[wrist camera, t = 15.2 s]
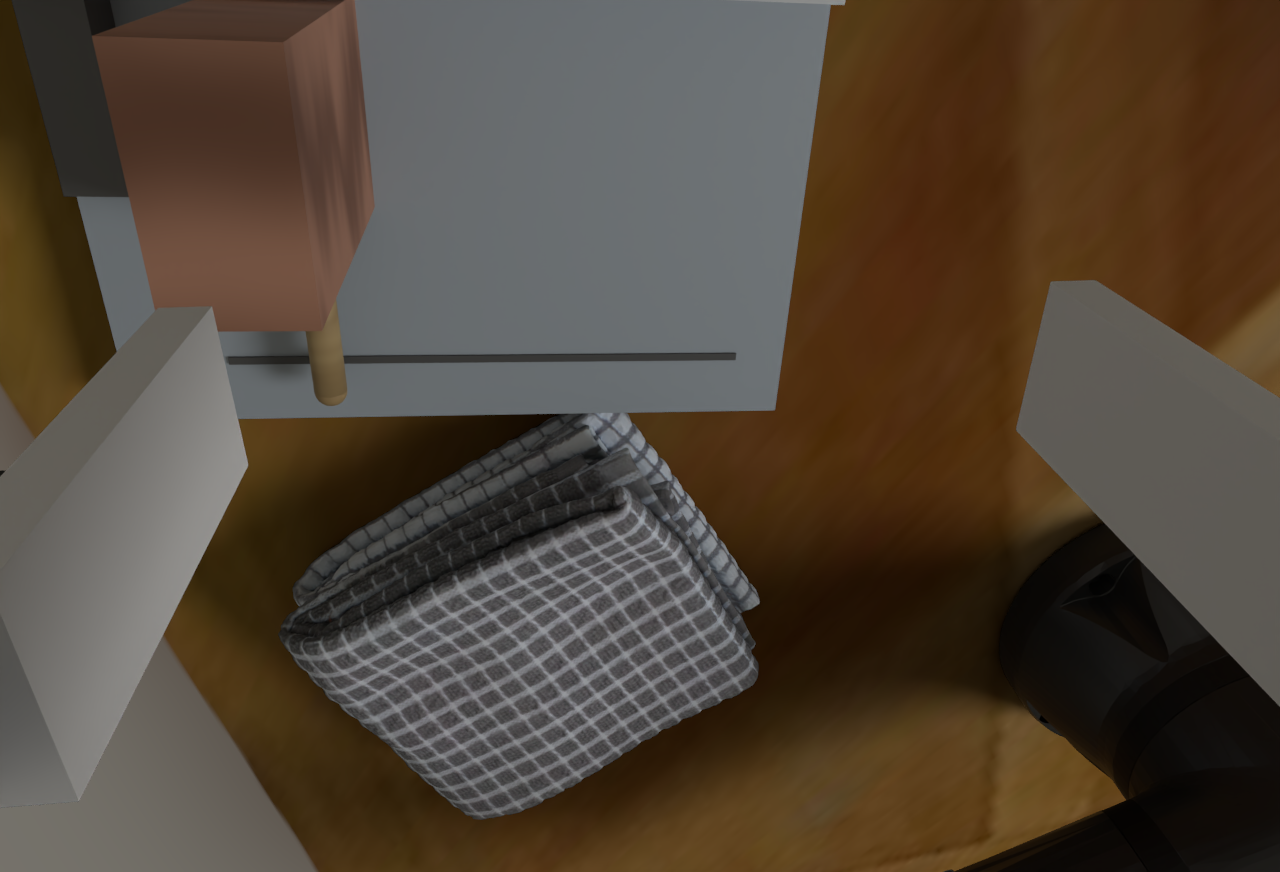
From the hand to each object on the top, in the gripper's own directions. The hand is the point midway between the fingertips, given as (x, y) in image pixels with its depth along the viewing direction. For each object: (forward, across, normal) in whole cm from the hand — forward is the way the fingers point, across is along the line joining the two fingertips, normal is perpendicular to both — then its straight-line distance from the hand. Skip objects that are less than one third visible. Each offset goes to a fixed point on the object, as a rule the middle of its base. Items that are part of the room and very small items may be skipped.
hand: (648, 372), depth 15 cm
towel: (+24, +2, +22) cm, 33 cm away
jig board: (+23, +5, +3) cm, 24 cm away
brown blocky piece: (+21, +10, +3) cm, 23 cm away
